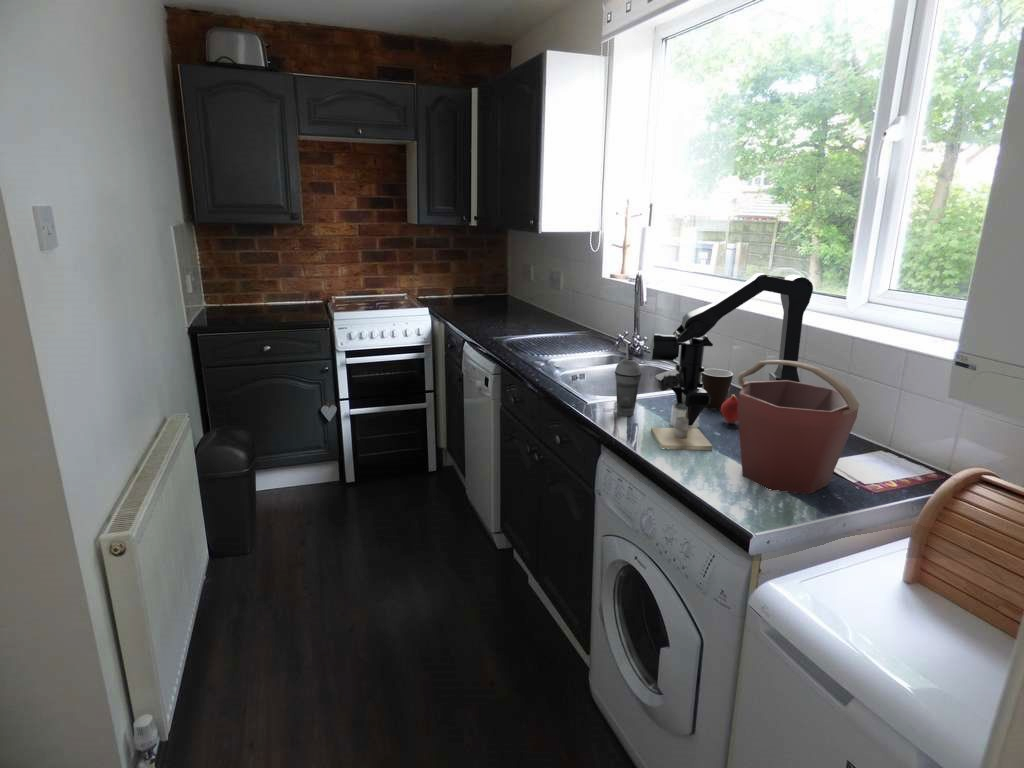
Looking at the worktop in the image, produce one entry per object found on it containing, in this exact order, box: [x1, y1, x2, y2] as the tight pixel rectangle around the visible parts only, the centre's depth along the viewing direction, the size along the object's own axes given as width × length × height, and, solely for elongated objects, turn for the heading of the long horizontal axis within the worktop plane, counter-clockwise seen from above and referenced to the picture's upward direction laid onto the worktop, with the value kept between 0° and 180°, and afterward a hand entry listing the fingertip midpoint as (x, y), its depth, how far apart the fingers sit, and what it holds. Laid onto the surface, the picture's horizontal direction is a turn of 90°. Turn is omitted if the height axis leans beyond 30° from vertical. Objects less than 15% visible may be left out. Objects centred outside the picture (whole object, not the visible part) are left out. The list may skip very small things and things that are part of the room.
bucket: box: [737, 359, 860, 495], centre depth 131 cm, size 24×22×25 cm
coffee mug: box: [701, 368, 734, 410], centre depth 180 cm, size 12×9×10 cm
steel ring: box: [669, 402, 701, 429], centre depth 163 cm, size 7×7×5 cm
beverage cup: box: [614, 341, 642, 417], centre depth 170 cm, size 7×7×20 cm
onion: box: [720, 394, 738, 425], centre depth 165 cm, size 6×6×8 cm
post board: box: [650, 417, 713, 451], centre depth 153 cm, size 12×12×6 cm
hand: (685, 419), depth 164 cm, fingers open, 9 cm apart
